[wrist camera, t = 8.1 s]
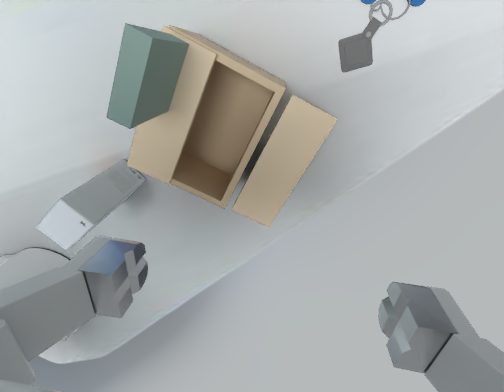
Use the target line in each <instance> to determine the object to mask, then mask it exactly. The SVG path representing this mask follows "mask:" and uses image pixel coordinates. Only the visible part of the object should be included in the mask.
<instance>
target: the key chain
mask: <svg viewBox="0 0 504 392" xmlns="http://www.w3.org/2000/svg"><path fill="white" fill-rule="evenodd" d="M361 1H362V2H363V3H365V4H370V3H371V9H370V12H369V19H370V22H369V24H368V26H367V27H366V29H365V30H364V32H363V33H361V34H358V35H354V36H351V37H348V38H345V39H341V40H340V41H339V52H340V60H341V69H342V72H348V71H351V70H355V69H358V68H362V67H365V66H369V65H371V64H372V62H373V59H372V44H371V39H372V37H373V35H374V34H375V32H376V31H377V30H378V28H379V27H380V26H382V25H384V24H386V23H387V22H388V21H389V19H391V20H394V19H398V18H400V17H401V16H403V15H404V14H405V13H406V12H407V10H408V8H409V7H410V5H412V6H419V5H421V4H423V3H424V2H425V0H407V1H408V2H409V4H408V7H407V9H406V11H405V12H404V13H403V14H402V15H400V16H399V17H395V18H391V16H392V11H393V9H392V5H391V3H390V2H389V1H388V0H379V1H377V2H376V3H375V4H374V5H373V6H372V4H373V2H374V1H376V0H361ZM381 3H384V4H386V5H387V6H388V7H389V10H390V11H389V16H388V17H387V16H386V15H385V14H384V13H383V9H382V7H381ZM378 4H380V7H379V8H378V9H374V8H375V7H376V6H377V5H378ZM380 8H381V12H382V15H383V16H384V17H386V18H387V19H386V20H385V21H384V22H382V23H381V22H380V21H378V20H377V19H376V18H374V17H373V18H372V13H373V10H374V11H378V10H379V9H380Z"/></svg>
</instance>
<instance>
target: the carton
mask: <svg viewBox="0 0 504 392" xmlns="http://www.w3.org/2000/svg"><path fill="white" fill-rule="evenodd" d="M169 28H170V29H172V30H174V31H176V32H177V33H179V34H181V35H183V36H185V37H187V38H189V39H190V40H192V41H194V42H196V43H198V44H200V45H201V46H203V47H205V48H207V49H209V50H211V51H212V52H214V53H216V54H218V55H217V57H216V60H215V63H214V66H213V68H212V71H211V74H210V76H209V79H208V82H207V85H206V87H205V90H204V93H203V96H202V98H201V101H200V104H199V107H198V109H197V112H196V115H195V117H194V120H193V123H192V126H191V128H190V131H189V134H188V137H187V139H186V142H185V145H184V147H183V150H182V153H181V156H180V158H179V161H178V164H177V167H176V169H175V172H174V175H173V177H172V180H171V183H170V184H172V185H174V186H176V187H179V188H181V189H183V190H185V191H187V192H189V193H192V194H194V195H196V196H198V197H200V198H202V199H204V200H207V201H209V202H211V203H213V204H215V205H217V206H219V207H222V208H224V209H225V207H226V205H227V203H228V201H229V199H230V197H231V195H232V193H233V191H234V189H235V187H236V185H237V183H238V181H239V179H240V177H241V175H242V173H243V171H244V169H245V167H246V166H247V164H248V162H249V160H250V158H251V156H252V154H253V152H254V150H255V148H256V146H257V144H258V142H259V140H260V138H261V136H262V134H263V132H264V130H265V128H266V126H267V124H268V122H269V121H270V119H271V117H272V115H273V113H274V111H275V109H276V107H277V105H278V103H279V101H280V99H281V97H282V95H283V93H284V91H285V89H286V86H285V82H284V81H283V80H281V79H279V78H277V77H275V76H273V75H272V74H270V73H268V72H266V71H264V70H262V69H261V68H259V67H257V66H255V65H253V64H251V63H250V62H248V61H246V60H244V59H242V58H241V57H239V56H237V55H235V54H233V53H231V52H230V51H228V50H226V49H224V48H222V47H220V46H219V45H217V44H215V43H213V42H211V41H209V40H208V39H206V38H204V37H202V36H200V35H199V34H197V33H193V32H190V31H187V30H184V29H180V28H177V27H174V26H171V25H169Z"/></svg>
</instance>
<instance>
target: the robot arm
mask: <svg viewBox="0 0 504 392" xmlns="http://www.w3.org/2000/svg"><path fill="white" fill-rule="evenodd" d="M145 253H146V251H145V245H144V244H143V243H140V242H135V241H129V240H124V239H118V238H111V237H105V236H98V237H95V238H94V239H93V240H92V241H91V242H90V243H88V244H87V245H86V246H85V247H84V248H83V249H82V250H81V251H80V252H78V253H77V254H76V255H75V256H74V257H73V258H72V259H71V260H68V259H67V258H65V257H63V256H61V255H59V254H57V253H55V252H52V251H49V250H45V249H40V248H29V249H24V250H22V251H20V252H18V253H17V254H14V255H3V256H2V257H0V392H61V391H57V390H52V389H46V388H42V387H37V386H32V385H31V384H32V383H33V382H34V381H35V373H34V371H33V369H32V368H31V366H30V364H29V361H30V360H32V359H33V358H35V357H36V356H38V355H39V354H41V353H42V352H44V351H45V350H46V349H48V348H49V347H51V346H52V345H54V344H55V343H57V342H58V341H60V340H62V341H65V340H66V339H67V338H68V336H69V335H70V334H73V333H76V332H77V331H78V329H79V328H80V327H81V325H83V324H84V323H86V322H87V321H89V320H90V319H91V318H93V317H94V316H95V314H98V315H104V316H111V317H118V318H122V317H123V315H124V313H125V312H126V310H127V309H128V307H129V306H130V304H131V303H132V301H133V298H132V294H134V293H135V292H137V291H139V290H140V289H141V288H142V286H143V284H144V283H145V280H146V277H147V272H148V265H147V262H146V260H145V259H144V258H143V255H144V254H145ZM387 292H388V295H389V297H387V298H385V299H383V300H382V302H381V304H380V307H379V315H378V317H379V324H380V327H381V330H382V331H383V333H384V334H385V335H386V336H387V337H388V338H389V340H388V343H387V348H388V351H389V354H390V357H391V360H392V363H393V366H394V367H396V368H401V369H406V370H411V371H415V372H420V373H425V376H426V377H427V379H428V380H429V381H430V382H431V384H432V385H433V386H434V387H435V388H436V390H437V391H438V392H504V352H502V351H501V350H500V349H498V348H497V347H496V346H494V345H493V344H492V343H490V342H489V341H488V340H486V339H482V338H480V337H479V336H478V334H477V333H476V332H475V330H474V329H473V327H472V326H471V324H470V323H469V321H468V320H467V318H466V317H465V316H464V314H463V313H462V311H461V309H460V308H459V306H458V305H457V304H456V302H455V301H454V299H453V298H452V296H451V295H450V293H449V292H448V291H446V290H445V289H441V288H434V287H424V286H418V285H411V284H405V283H398V282H392V283H391V284H390V285H389V287H388V289H387Z"/></svg>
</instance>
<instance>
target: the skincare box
mask: <svg viewBox="0 0 504 392" xmlns="http://www.w3.org/2000/svg"><path fill="white" fill-rule="evenodd" d="M145 181H146V179H145V178H144V177H143V176H142V175H141V174H140V173H139V172H138V171H136V170H135V169H134V168H132V167H129V166H127V161H126V160H125V159H123V160H121V161H120V162H118V163H117V164H115V165H113V166H112V167H110V168H109V169H107V170H105V171H104V172H102V173H100V174H99V175H97V176H96V177H94V178H92V179H91V180H89V181H88V182H86V183H84V184H83V185H81V186H80V187H78V188H76V189H75V190H73V191H72V192H70V193H68V194H67V195H65V196H64V197H62V198H60V199H59V201H58V202H57V203H56V204H55V205H54V206H53V207H52V208H51V210H50V211H49V212H48V213H47V214H46V216H45V217H44V218H43V219H42V220H41V222H40V223H39V224H38V225H37V226H36V228H37V229H38V230H40V231H41V232H42V233H44V234H45V235H46V236H48V237H49V238H50V239H52V240H53V241H54V242H55V243H57V244H58V245H59V246H61V247H62V248H63V249H65V250H69V249H70V248H71V247H72V246H73V245H74V244H76V243H77V242H78V241H79V240H80V239H81V238H83V237H84V236H85V235H86V234H87V233H88V232H89V231H91V230H92V229H93V228H94V227H95V226H96V225H97V224H99V223H100V222H101V221H102V220H103V219H104V218H105V217H106V216H108V215H109V214H110V213H111V212H112V211H113V210H115V209H116V208H117V207H118V206H119V205H120V204H121V203H123V202H124V201H125V200H126V199H127V198H128V197H129V196H130V195H131V194H132V193H133V192H134V191H135V190H136V189H138V188H139V187H140V186H141V185H142V184H143V183H144V182H145Z"/></svg>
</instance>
